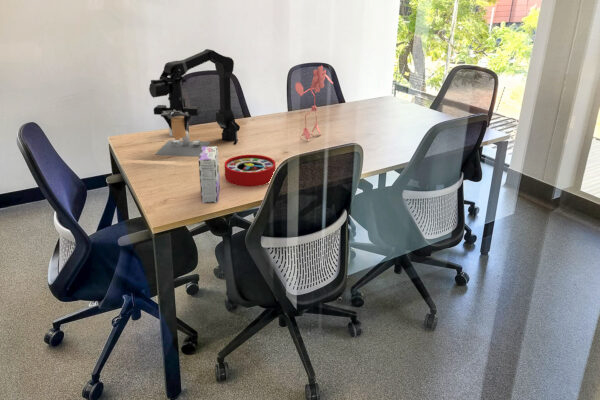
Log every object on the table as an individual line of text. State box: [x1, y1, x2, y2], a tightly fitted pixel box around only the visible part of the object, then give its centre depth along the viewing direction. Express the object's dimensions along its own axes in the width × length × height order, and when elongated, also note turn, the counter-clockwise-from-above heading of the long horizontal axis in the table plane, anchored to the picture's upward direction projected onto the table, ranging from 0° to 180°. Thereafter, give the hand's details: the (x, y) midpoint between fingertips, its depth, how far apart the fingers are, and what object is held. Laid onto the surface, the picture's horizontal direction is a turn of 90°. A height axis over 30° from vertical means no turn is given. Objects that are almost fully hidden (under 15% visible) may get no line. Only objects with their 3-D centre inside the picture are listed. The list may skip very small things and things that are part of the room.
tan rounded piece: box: [171, 115, 187, 141], centre depth 208 cm, size 11×6×8 cm, turn 3°
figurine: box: [294, 65, 334, 140], centre depth 229 cm, size 15×26×35 cm, turn 146°
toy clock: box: [224, 154, 277, 188], centre depth 191 cm, size 20×6×20 cm
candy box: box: [198, 145, 221, 204], centre depth 172 cm, size 14×6×16 cm, turn 5°
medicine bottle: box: [168, 112, 190, 137], centre depth 233 cm, size 7×7×12 cm
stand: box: [154, 131, 212, 158], centre depth 215 cm, size 20×20×8 cm
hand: (179, 129), depth 208 cm, fingers closed on tan rounded piece, 6 cm apart
